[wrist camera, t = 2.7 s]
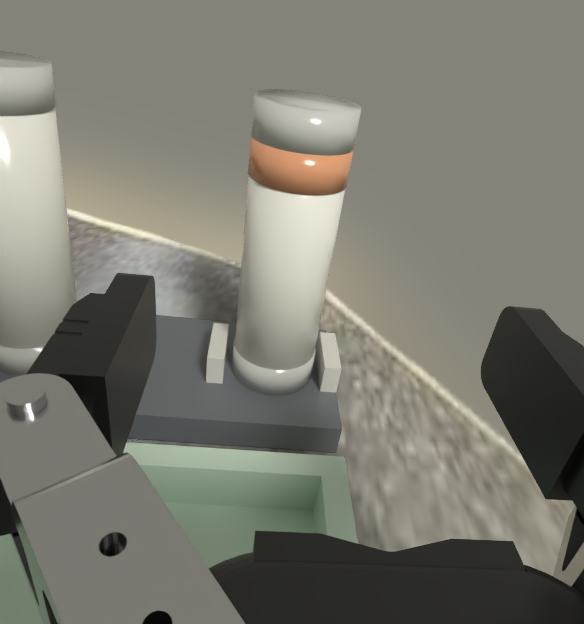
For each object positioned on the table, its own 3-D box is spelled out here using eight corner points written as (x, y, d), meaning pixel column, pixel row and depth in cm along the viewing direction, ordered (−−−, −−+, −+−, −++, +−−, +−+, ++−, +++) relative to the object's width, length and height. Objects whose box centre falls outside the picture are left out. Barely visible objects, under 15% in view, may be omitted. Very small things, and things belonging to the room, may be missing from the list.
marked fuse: (228, 391, 24) (252, 102, 17) (234, 342, 27) (255, 85, 21) (313, 398, 24) (369, 118, 18) (308, 348, 28) (353, 98, 21)
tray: (-283, 925, 10) (-364, 889, 9) (-20, 486, 20) (-37, 431, 18) (377, 911, 12) (410, 879, 10) (331, 506, 21) (344, 456, 19)
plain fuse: (-27, 372, 23) (-110, 55, 16) (13, 323, 26) (-42, 45, 20) (66, 379, 23) (23, 72, 17) (93, 329, 27) (67, 59, 20)
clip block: (-70, 425, 22) (-89, 371, 20) (11, 324, 29) (2, 278, 27) (336, 452, 24) (347, 404, 22) (322, 350, 30) (330, 308, 29)
